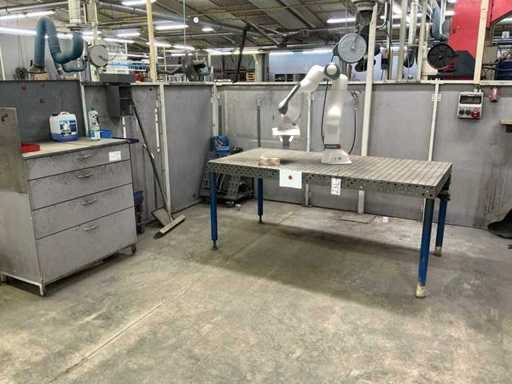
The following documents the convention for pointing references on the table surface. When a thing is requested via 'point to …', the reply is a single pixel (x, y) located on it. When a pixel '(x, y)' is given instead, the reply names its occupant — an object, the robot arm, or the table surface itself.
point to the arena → (269, 161)
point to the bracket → (286, 142)
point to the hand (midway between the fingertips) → (286, 141)
